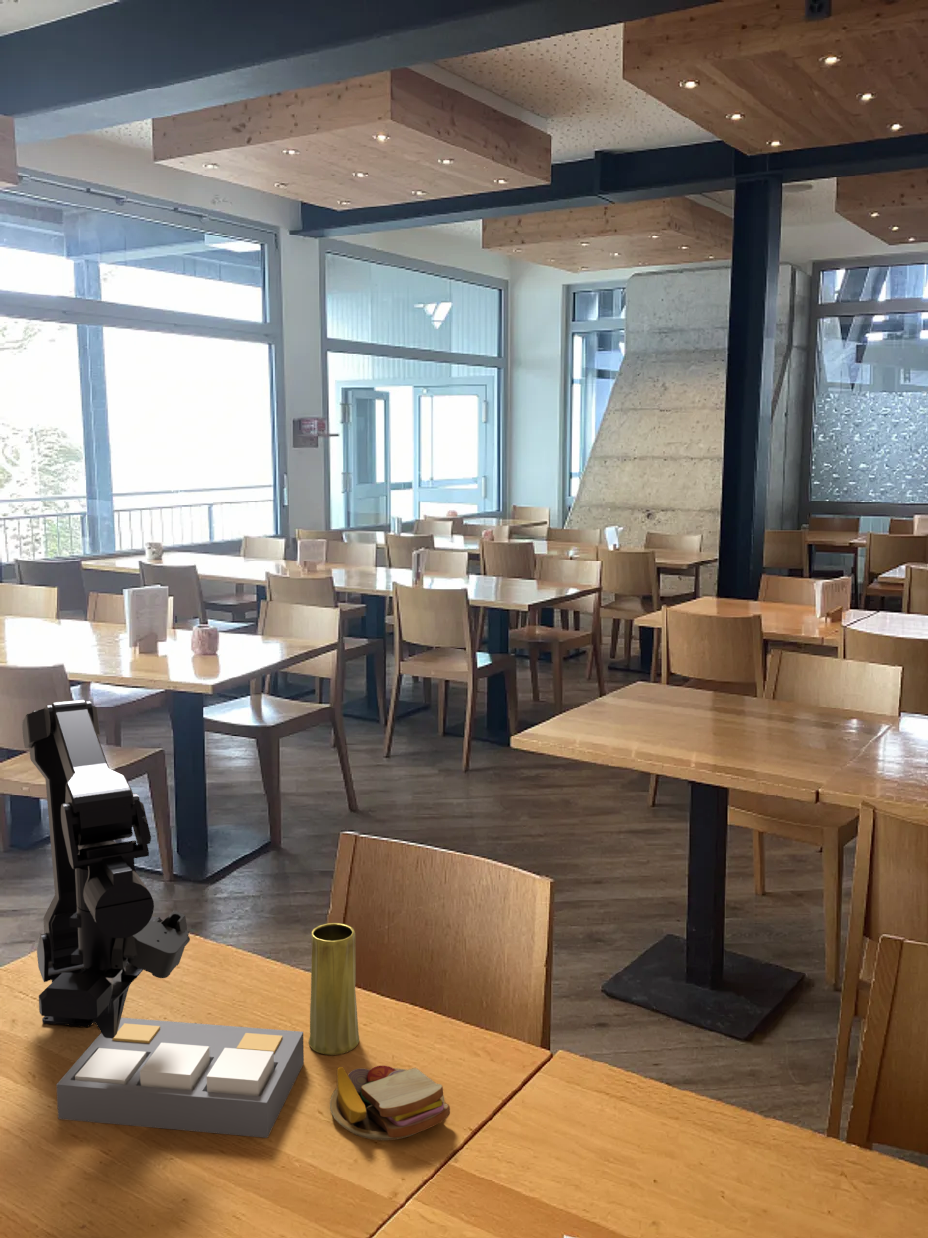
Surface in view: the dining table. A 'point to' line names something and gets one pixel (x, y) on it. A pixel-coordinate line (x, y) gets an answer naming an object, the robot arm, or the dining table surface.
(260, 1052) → the key
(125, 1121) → the key panel
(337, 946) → the vase
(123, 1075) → the key
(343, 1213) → the dining table surface
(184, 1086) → the key middle
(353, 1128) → the toy sandwich meal
